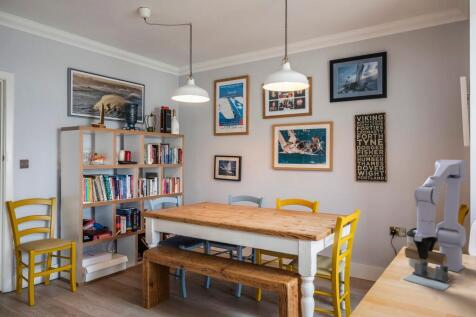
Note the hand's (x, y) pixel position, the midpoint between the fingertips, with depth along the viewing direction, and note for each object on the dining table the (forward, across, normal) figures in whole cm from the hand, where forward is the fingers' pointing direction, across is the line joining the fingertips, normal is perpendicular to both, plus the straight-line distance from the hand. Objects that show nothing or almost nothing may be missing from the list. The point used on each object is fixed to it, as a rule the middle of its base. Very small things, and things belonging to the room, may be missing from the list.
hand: (425, 257), depth 118 cm
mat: (+9, 0, 0) cm, 9 cm away
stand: (+9, -8, 0) cm, 12 cm away
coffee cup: (+9, -16, -8) cm, 21 cm away
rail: (+1, 0, 0) cm, 1 cm away
